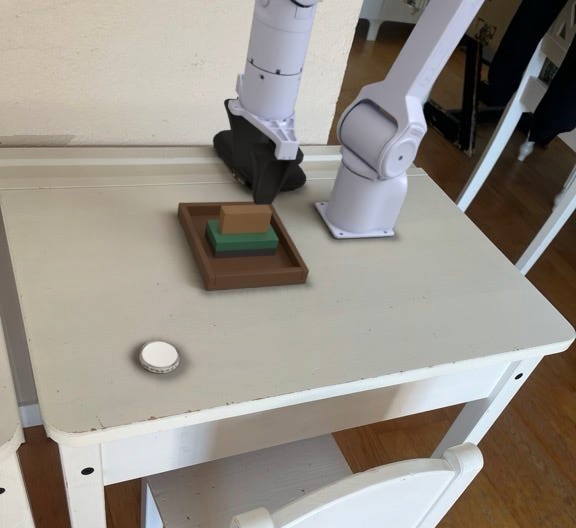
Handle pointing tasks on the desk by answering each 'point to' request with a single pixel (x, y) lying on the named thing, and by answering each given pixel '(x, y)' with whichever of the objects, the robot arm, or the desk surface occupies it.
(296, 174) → the carrying case
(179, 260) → the desk surface
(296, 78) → the robot arm
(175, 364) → the white bottle cap
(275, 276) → the tray
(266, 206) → the brush
